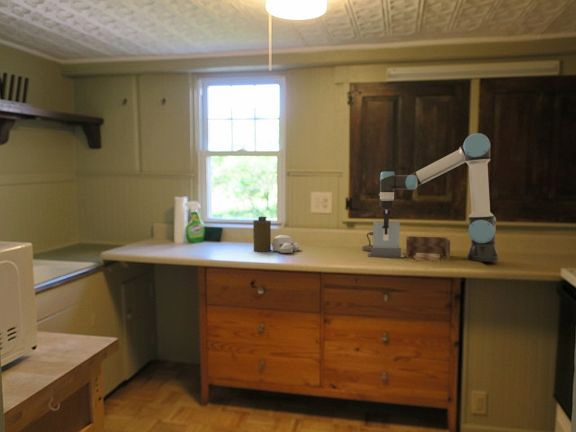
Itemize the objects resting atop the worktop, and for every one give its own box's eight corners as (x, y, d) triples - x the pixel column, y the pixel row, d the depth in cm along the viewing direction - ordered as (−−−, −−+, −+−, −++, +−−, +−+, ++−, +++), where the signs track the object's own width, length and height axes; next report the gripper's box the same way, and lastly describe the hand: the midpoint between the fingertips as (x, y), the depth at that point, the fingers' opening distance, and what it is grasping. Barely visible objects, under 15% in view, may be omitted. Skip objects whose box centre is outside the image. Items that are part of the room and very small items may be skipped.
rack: (446, 255, 258) (447, 237, 258) (449, 259, 244) (450, 240, 243) (405, 253, 263) (406, 236, 263) (406, 257, 249) (407, 239, 248)
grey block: (403, 255, 256) (403, 247, 256) (403, 258, 248) (403, 249, 248) (368, 254, 260) (368, 246, 260) (367, 256, 252) (367, 248, 252)
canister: (274, 250, 276) (274, 216, 275) (264, 252, 268) (264, 217, 266) (259, 248, 282) (259, 215, 281) (249, 250, 273) (249, 216, 272)
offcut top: (439, 256, 244) (439, 254, 244) (439, 257, 240) (439, 255, 240) (416, 255, 248) (416, 252, 248) (415, 256, 244) (415, 254, 244)
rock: (303, 249, 280) (303, 233, 279) (293, 254, 261) (294, 237, 260) (274, 248, 285) (274, 232, 284) (263, 252, 266) (263, 236, 265)
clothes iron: (386, 249, 274) (387, 232, 268) (386, 258, 266) (387, 241, 260) (362, 247, 277) (363, 230, 271) (361, 256, 268) (362, 239, 263)
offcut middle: (439, 258, 244) (439, 256, 244) (439, 259, 240) (439, 257, 240) (414, 257, 248) (414, 254, 248) (413, 258, 244) (413, 256, 244)
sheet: (398, 255, 254) (399, 222, 252) (398, 255, 251) (399, 222, 250) (372, 254, 257) (373, 221, 255) (372, 255, 254) (373, 222, 253)
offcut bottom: (442, 260, 244) (442, 258, 244) (442, 262, 240) (442, 260, 240) (414, 259, 248) (414, 257, 248) (414, 261, 244) (414, 258, 243)
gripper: (380, 199, 265) (379, 236, 266) (379, 200, 241) (378, 241, 242) (393, 199, 263) (393, 236, 265) (393, 201, 239) (393, 241, 240)
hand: (386, 239), depth 253 cm, fingers open, 13 cm apart
